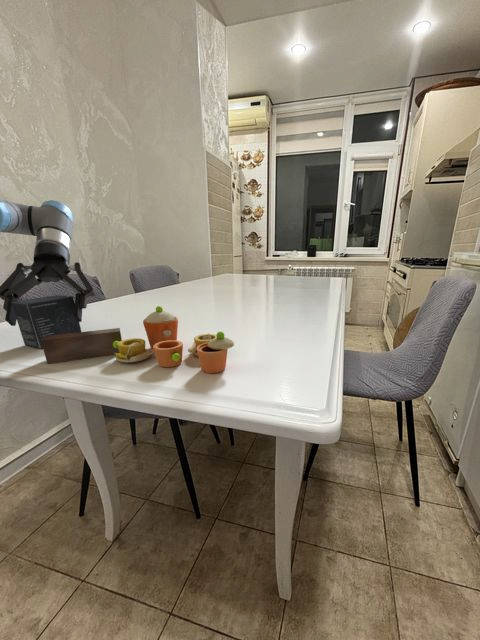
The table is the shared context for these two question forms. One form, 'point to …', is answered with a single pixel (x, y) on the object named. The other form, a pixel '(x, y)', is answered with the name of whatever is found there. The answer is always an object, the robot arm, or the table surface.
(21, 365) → the table surface
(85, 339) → the block
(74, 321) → the box
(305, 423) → the table surface
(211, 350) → the toy tea set
